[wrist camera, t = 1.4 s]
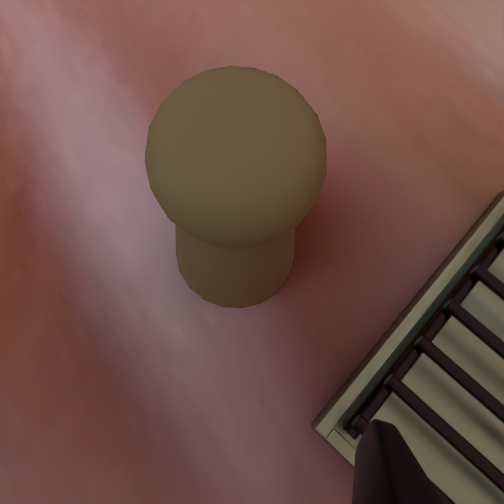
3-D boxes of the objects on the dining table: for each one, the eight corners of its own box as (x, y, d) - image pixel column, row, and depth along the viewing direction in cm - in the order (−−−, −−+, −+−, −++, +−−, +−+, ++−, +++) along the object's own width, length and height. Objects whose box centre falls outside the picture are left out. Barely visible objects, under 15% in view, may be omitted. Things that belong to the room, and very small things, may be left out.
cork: (158, 219, 21) (82, 69, 10) (264, 178, 22) (293, 1, 11) (203, 328, 20) (166, 281, 9) (314, 278, 20) (400, 184, 10)
